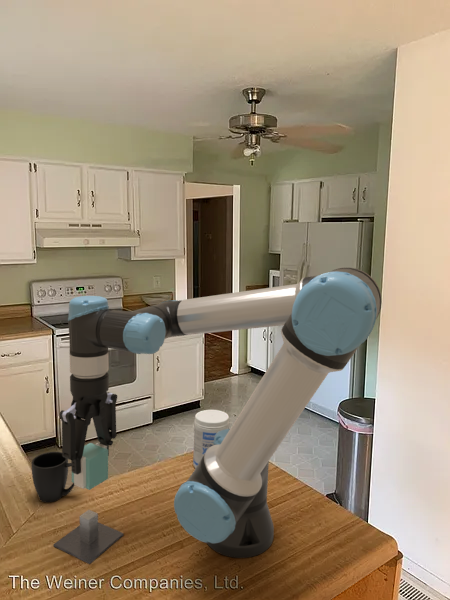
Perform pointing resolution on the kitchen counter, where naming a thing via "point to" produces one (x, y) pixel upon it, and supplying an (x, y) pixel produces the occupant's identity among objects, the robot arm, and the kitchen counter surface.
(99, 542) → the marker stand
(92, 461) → the teal rectangular block
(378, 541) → the kitchen counter surface
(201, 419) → the supplement tub
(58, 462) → the mug
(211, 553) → the kitchen counter surface
